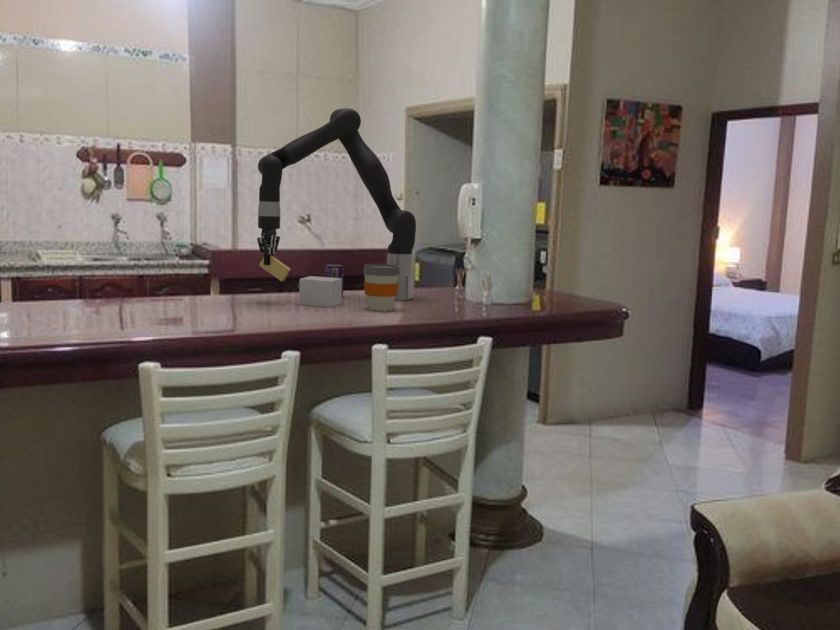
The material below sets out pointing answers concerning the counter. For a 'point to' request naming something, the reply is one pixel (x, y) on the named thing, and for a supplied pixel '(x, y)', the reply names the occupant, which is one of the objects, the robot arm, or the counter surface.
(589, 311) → the counter surface
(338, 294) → the light grey block
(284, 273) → the yellow sponge block
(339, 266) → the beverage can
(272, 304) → the counter surface
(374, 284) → the reusable coffee cup
